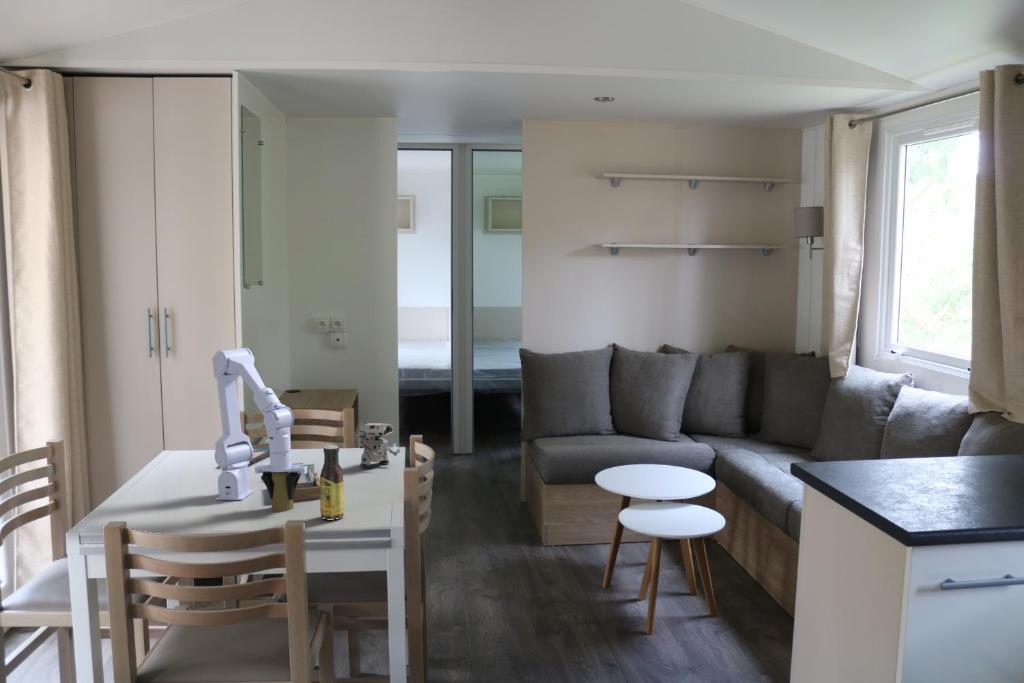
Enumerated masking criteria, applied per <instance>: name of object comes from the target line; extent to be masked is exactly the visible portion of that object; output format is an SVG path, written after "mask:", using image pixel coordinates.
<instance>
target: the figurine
mask: <svg viewBox="0 0 1024 683" xmlns="http://www.w3.org/2000/svg"><path fill="white" fill-rule="evenodd" d="M360 431H361V432H364V433H366V434H367V436H369V437H364V436H363V437H361V438H360V443H359V449H363V453H362V454H361V456H360V457H361V458H360V461H361V462H360V467H361V468H362V467H364V468H363V469H366V468H367V469H366V470H371V469H372V465H371V463H379V462H381V463H385V464H387V463H388V464H390V460H389V454H392V455H393V456H395V457H396V456H398V453H399V454H400V453H401V450H400V448H398V449H397V450H396V451H395V450H393V449H392V448H391V447H390V446H388V439H386V438H383V437H385V436H387V435H390V434H392V433H394V427H393V425H392V424H391V423H380V422H379V423H378V422H377V423H376V422H375V423H372V422H367V423H365V424H363V425H362V427H360ZM364 438H365V439H364ZM388 451H389V454H388ZM381 463H380V464H381ZM385 464H384V465H385ZM388 464H387V465H388Z"/></svg>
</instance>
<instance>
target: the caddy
mask: <svg viewBox="0 0 1024 683" xmlns="http://www.w3.org/2000/svg"><path fill="white" fill-rule="evenodd" d="M313 480H314V487H309V488H299V489H296V490H295V495H294V498H293V499H292V500H293V501H297V502H300V501H299V500H306V501H308V500H307V499H316V498H320V477H319V475H318V472H314V474H313ZM316 500H317V499H316Z"/></svg>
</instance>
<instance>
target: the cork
mask: <svg viewBox="0 0 1024 683" xmlns="http://www.w3.org/2000/svg"><path fill="white" fill-rule="evenodd" d="M288 475H290V474H289V473H288V472H273V474H272V481H273V482H274V489H273V499H271V500H272V502H271V511H272V512H276V513H280V512H281V513H283V511H284V512H288V511H287V510H289V511H291V510H290V509H292V508H293V507H294V502H293V500H289V491H288V483H287V479H286V476H288ZM294 508H295V507H294ZM294 508H293V509H294ZM293 509H292V510H293Z"/></svg>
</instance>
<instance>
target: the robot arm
mask: <svg viewBox="0 0 1024 683" xmlns="http://www.w3.org/2000/svg"><path fill="white" fill-rule="evenodd" d="M211 360H212V368H213V369H212V370H213V377H214V379H216V386H217V392H218V393H217V394H218V401H219V409H220V420H221V428H222V435H221V436H220V437H219V438H218V439H217V441H215V451H214V461H215V463H216V464H217V466H218V465H219V466H220V467H221V468H222V469H221V473H220V474H219V476H218V478H217V487H218V488H217V489H218V496H217V497H216V498H215V501H220V500H221V501H243V500H244V499H246V497H248V496H249V495H251V494H253V492H254V490H255V489H253V488H249V487H250V486H249V470H248V469H249V467H248V464H250V461H251V460H252V458H253V450H254V448H253V445H252V443H251V438H250V436H248V435H246V434H245V433H243V431H242V430H243V429H242V423H241V414H240V405H239V398H238V391H237V390H238V389H237V379H238V378H239V377H241V378H242V380H243V381H244V383H246V386H248V388H249V389H250V390H251V391H252V392H253V393H254V394H253V401H254V403H255V404H256V406H257V407H258V409H259V410H260V412H261V413H262V415H263V416H264V418H263V425H264V427H265V430H266V435H267V437H268V442H269V443H268V444H269V445H268V447H269V448H268V449H270V456H269V464H257V465H255V467H254V474H257V475H258V474H262V475H261V476H260V478H261V480H262V482H263V484H264V485H265V487H266V489H267V493H268V495H269V499H270V500H272V499H273V489H274V482H273V481H272V474H273V472H288V473H289V474H290V475H288V476H286V479H287V483H288V491H289V500H292V499H293V498H294V495H295V490H296V486H297V483H298V480H299V478H300V476H301V474H303V475H305V474H306V473H307V466H300V465H293V464H294V463H292V450H291V448H292V447H291V427H292V426H293V425H294V422H295V414H294V412H293V410H292V409H291V408H290V407H289V406H286V405H285V404H282V402H281V401H280V400H279V398H278V396H277V395H276V393H275V392H274V391H273V389H272V388H271V387H266V385H265V384H264V382H263V380H262V378H261V376H260V374H259V372H258V370H257V368H256V367H255V356H254V355H253V352H252V351H251V350H250V349H249V348H248V347H241V348H236V349H235V348H234V349H226V350H225V349H224V350H220V349H219V350H217V351H216V352H215V354H214V355H213V357H212V358H211Z"/></svg>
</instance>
